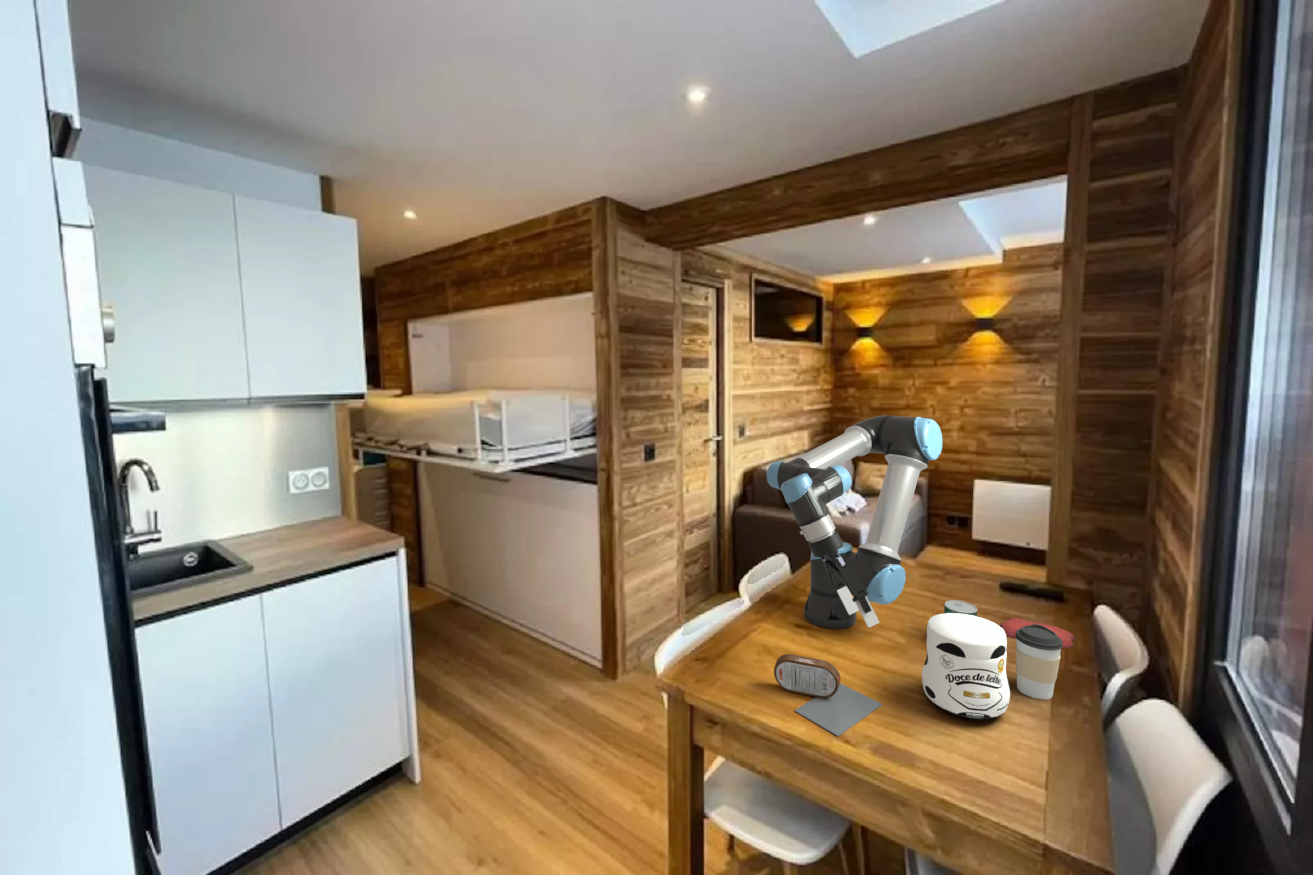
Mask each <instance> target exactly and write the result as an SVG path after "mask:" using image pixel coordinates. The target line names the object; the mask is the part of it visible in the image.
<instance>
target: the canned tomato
mask: <svg viewBox="0 0 1313 875" xmlns="http://www.w3.org/2000/svg"><path fill="white" fill-rule="evenodd" d="M943 610H944V612H943V614H944V613H961V614H967V615H973V616H977V617H978V607H977V606H976V605H974V604H973V603H969V602H966V601H963V600H958V599H957V600H955V599H954V600H953V599H951V600H946V601H944V609H943Z"/></svg>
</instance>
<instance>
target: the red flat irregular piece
mask: <svg viewBox="0 0 1313 875" xmlns="http://www.w3.org/2000/svg"><path fill="white" fill-rule="evenodd" d="M1032 624H1037V625H1042V626H1044V627H1046V628H1047V629H1049V630H1051V631H1053V632H1055V633H1056V634H1057V636H1058V637H1059V638H1060V639H1061V640H1062V642H1063V643H1062V645H1063V647H1062V648H1061V649H1070V648H1072V647H1073V646H1074V643H1073V640H1075V639H1076V638H1075V635H1074V634H1073V633H1071V632H1070V631H1069V630H1066V629H1063V628H1061V627H1058V626H1056V625H1050V624H1046V623H1043V622H1034V621H1029V620H1026V619H1023V618H1020V617H1010V618H1008V619H1007V620H1005V621H1002V622H1001V623H1000V625H999V626H1000V627H1001V628H1003V630H1004V632H1005V634H1006V637H1007V638H1008V637H1009V638H1011V639H1016V637H1015V635H1016V631H1017V630H1018V629H1021V628H1022V627H1023V626H1028V625H1032Z"/></svg>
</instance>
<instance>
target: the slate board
mask: <svg viewBox="0 0 1313 875" xmlns="http://www.w3.org/2000/svg"><path fill="white" fill-rule="evenodd" d="M881 706H883V703H881V702H879V701H878V700H875V699H873V698H871V697H869V696H867V695H865V694H863V693H861V692H859V691H856V690H855V689H852V688H851V687H849V686H847V685H845V684H843V683H841V682H840V685H839V688H838V690H837V692H836V693H835V694H834V695H833V696H831V697H829V698H820V697H815V696H814V698H812V699H810V700H809V701H808V702H806V703H804V704H802V705H801V706H799V707H797V708H795V709H794V712H795V713H797V714H799V715H800V716H802V717H804V718H805V719H807V720H808V721H810V722H812V723H814V724H816V725H818V726H819V727H821V728H822V729H824V730H826V731H827V732H829V733H831V734H833V735H835V736H836V737H839V736H841V735H842V734H843V733H845V732H847V731H848V730H849V729H851V728H852V727H853V726H854V725H856V724H858V723H859V722H861V721H862V720H864V718H866V717H867V716H869V715H870V714H872V713H874V711H876V710H877V709H879V708H880V707H881Z"/></svg>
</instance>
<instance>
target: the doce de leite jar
mask: <svg viewBox="0 0 1313 875" xmlns="http://www.w3.org/2000/svg"><path fill="white" fill-rule="evenodd" d="M1007 645H1008V640H1007V636H1006V634H1005V632H1004V630H1003V628H1001V627H1000V625H998V624H997V623H995V622H993V621H991V620H989V619H986V618H983V617H979V616H978V615H977V616H973V615H967V614H961V613H944V612H943V613H939V614H935V615H933V616H931V617H930V618H929V619H928V621H927V626H926V657H925V658H926V659H925V661H924V663H923V667H922V670H921V683H922V687H923V690H924V693H925V695H926V697H927V698H928V699H929V701H930V702H931V703H933V704H934V705H936V706H937V707H939V709H941V710H943V711H945V712H947V713H949V714H953V715H955V716H958V717H961V718H966V719H970V720H989V719H995V718H998V717H1000V716H1001V715H1003V714H1004V713H1005V712H1006V711H1007V709H1008V706H1009V704H1010V700H1011V688H1010V683H1009V679H1008V675H1007V669H1006V668H1007V653H1008V652H1007V647H1008V646H1007Z"/></svg>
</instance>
